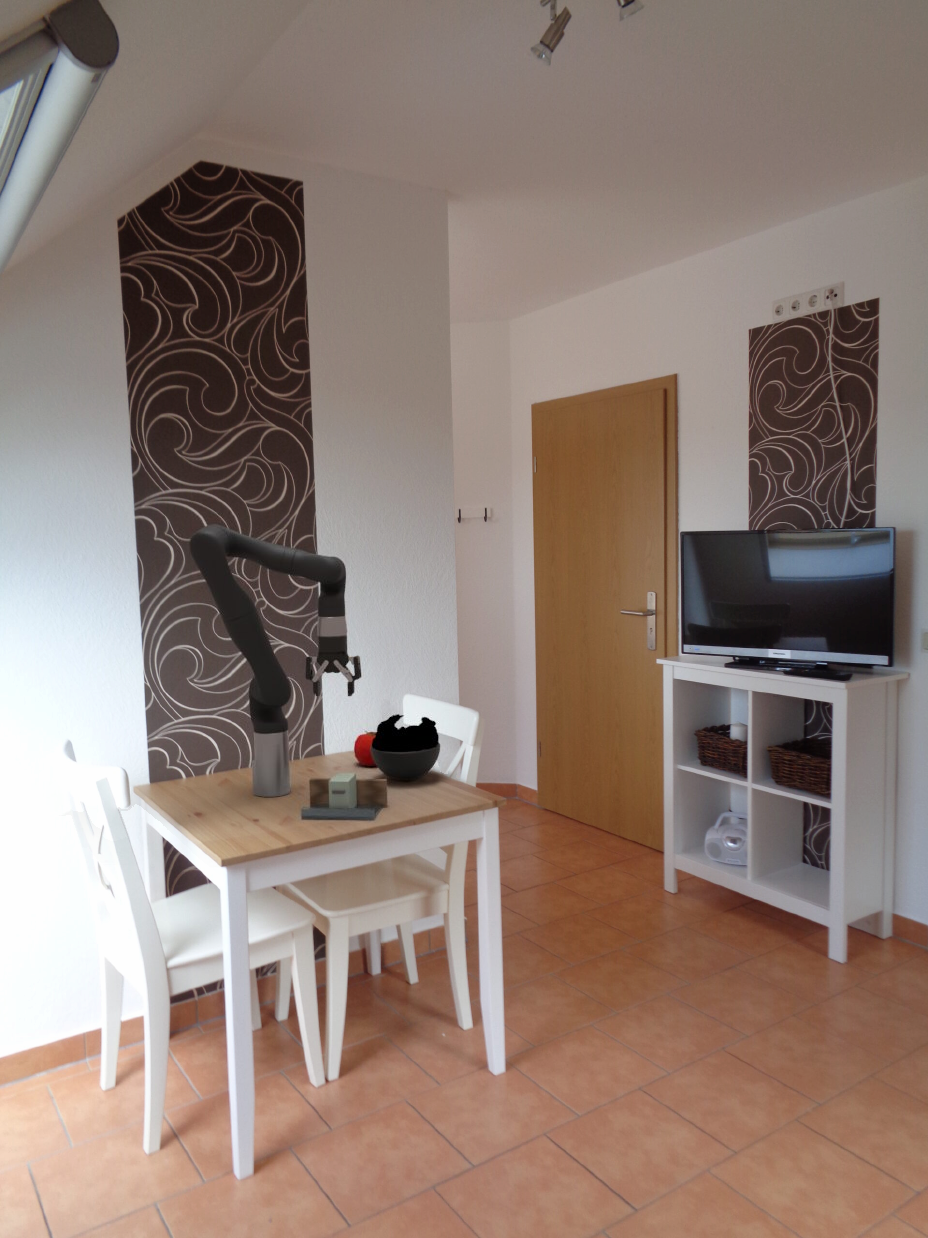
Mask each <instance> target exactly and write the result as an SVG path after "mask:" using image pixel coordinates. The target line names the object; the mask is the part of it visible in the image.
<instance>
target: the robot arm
mask: <svg viewBox="0 0 928 1238" xmlns="http://www.w3.org/2000/svg"><path fill="white" fill-rule="evenodd" d="M188 547H189V552H190V555H191V557H192V559H193V561H194V563H195V565H196V566H197V568H198V570H199V572H200V573H201V575H202V577H203V579H204V580H205V583H206V585H207V586H208V588H209V589H208V590H209V591H210V594H211V596H212V598H213V601H214V603H215V605H216V608H217V610H218V612H219V615H220V617H221V619H222V623H223V624H224V625H223V626H224V627H225V629H226V632H227V633H228V636H229V637H230V639H231V640H232V642H233V644H234V646H235V647H236V648H237V649H238V651H239V652H240V653H241V655H242V656H243V657H244V658H245V660H246V661H247V662H248V664H249V666H250V668H251V669H252V672H253V675H254V676H253V677H252V678H251V680H250V682H249V686H248V703H249V714H250V715H249V717H250V720H251V721H250V722H251V723H252V727H253V744H254V745H253V748H254V759H252V761H251V763H252V764H251V765H252V766H251V767H252V768H251V769H252V793H253V796H258V797H261V798H262V797H264V798H266V797H267V798H272V797H275V798H276V797H280V796H281V797H282V796H286V795H288V794H289V793H291V772H290V771H291V770H290V740H289V721H288V719H287V717H286V716H285V714H284V712H283V708H282V707H284V706H286V705H287V704H288V702H289V701H290V699H291V696H292V686H291V682H290V680H289V678H288V676H287V674H286V672H285V671H284V669H283V668H282V667H283V666H282V665H281V663H280V662H279V659H278V658H277V656H276V654H275V652H274V649H273V646H272V644H271V641H270V639H269V635H268V634H267V631H266V628H265V627H264V623H263V621H262V618H261V616H260V614H259V612H258V609H257V607H256V604H255V602H254V601H253V598H252V597H251V596H250V595H249V594H248V593H247V592H246V590H245V589H244V588H243V587H242V586H241V585H240V584H239V582H238V581H237V580H236V578H235V576H234V575H233V573H232V572H233V571H231V568H230V565H229V562H228V558H237V559H238V558H239V559H242V560H243V559H244V560H248V561H251V562H253V563H255V564H257V565H259V566H260V567H263V568H265V569H267V570H269V571H272V572H276V573H280V574H283V575H286V576H287V575H288V576H293V577H298V578H299V577H300V578H304V579H307V580H310V581H314V582H316V583H319V589H320V591H319V595H318V598H317V627H316V628H317V652H318V653H317V656H313V655H309V656H307V657H306V658H305V679H306V680H309V681H311V682H312V690H313V694H314V695H315V697H320V696H321V681H320V679H321V678H322V677H323V675H324V674H325V673H326V674H332V673H334V674H339V673H341V674H342V676H344V677H345V679H346V680H347V681H348V682H346V683H347V684H346V685H347V697H352V696H353V694H355V681H356V680H359V679H361V678H362V665H361V656H360V655H356V656H354V655H353V656H349V653H348V626H347V625H348V624H347V618H346V601H345V594H346V593H345V592H346V584H347V569H346V565H345V563H344V561H343V560H342V559H341V558H339V557H337V556H327V555H323V554H322V555H321V554H318V553H317V554H316V553H311V552H308V551H305V550H303V549H299V548H295V547H290V546H286V545H281V544H277V543H272V542H268V541H264V540H261V539H258V538H255V537H252V536H249V535H246V534H243V533H240V532H238V531H235V530H233V529H231V528H228V527H226V526H223V525H219V524H216V523H215V524H214V523H213V524H208V525H206V526H203V527H202V528H200V529H199V530H197V531H196V532H194V533H193V534H192V536H191V537H190V540H189V544H188ZM316 662H317V664H318V665H319V666H320V667H319V669H318V670H317V672H316V673H315V674H314V672H313V671H314V665H315V664H316ZM349 662H350V664H351V665H353V671H354V673H352V672H351V670H350V669H349V667H348V666H347V665H348V664H349ZM353 674H354V675H353Z"/></svg>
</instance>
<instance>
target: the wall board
mask: <svg viewBox="0 0 928 1238" xmlns="http://www.w3.org/2000/svg"><path fill="white" fill-rule="evenodd" d="M331 779H332V778H319V777H318V778H312V777H311V778H310V779H309V780H308V781H309V784H308V786H309V808H310V807H311V806H312V805H313V804H329V781H330V780H331ZM356 789H357V804H382V807H383V808H385V809H387V807H388V779H387V778H384V779H383V778H356ZM383 808H382V809H383Z"/></svg>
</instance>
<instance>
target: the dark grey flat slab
mask: <svg viewBox="0 0 928 1238" xmlns="http://www.w3.org/2000/svg"><path fill="white" fill-rule="evenodd" d="M382 809H383V807H382V804H357V805H356V806H355V807H354V808H329V804H313V805H312V806H311V807H310V806H309V807H306V806H305V807H303V806H302V807H301V809H300V810H301V811H300V812H301V813H300V814H301V815H300V816H301V817H300V818H301V820H325V821H327V820H330V821H332V820H335V821H340V820H341V821H374V820H375V819H376V817H377V816H378V815H379V813H380V812H381V810H382Z"/></svg>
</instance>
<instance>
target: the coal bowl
mask: <svg viewBox="0 0 928 1238" xmlns="http://www.w3.org/2000/svg"><path fill="white" fill-rule="evenodd" d="M404 716H405V715H404V714H401V715H400V713H398V714H393V715H391V716H389V717H388V718H387V719H386V720H383V721H380V722H379V724H378V725H377V726H376V727H377V728H376V731H375V732H376V734H375V738H373V741H372V745H371V746H370V750H371V755H372V758H373V760H374V762H375V764H376V765H375V766H376V767H377V768H378V769H379V771H381V773H382V774H384V775H385V776H387V777H389V778H391V779H394V780H397V781H403V782H404V781H414V780H417V779H419V778H422V777H423V776H425V775H426V774H427V773H428V772H430V771H431V769H433V767H434V766H435V765H436V763H437V760H438V757H440V751H441V743H440V742H439V737H440V735H439V732H438V729H437V727H436V725H437V723H436V721H435V720H432V719H430V718H429V717H426V716H422V717H421V718H420V721H421V723H419V724H418V725H417V724H413V725H408V726H406V727H405V726H401V727H400V728H398V727H397V726H396V724H397V722H398V721H400V719H402V718H403V717H404Z"/></svg>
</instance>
